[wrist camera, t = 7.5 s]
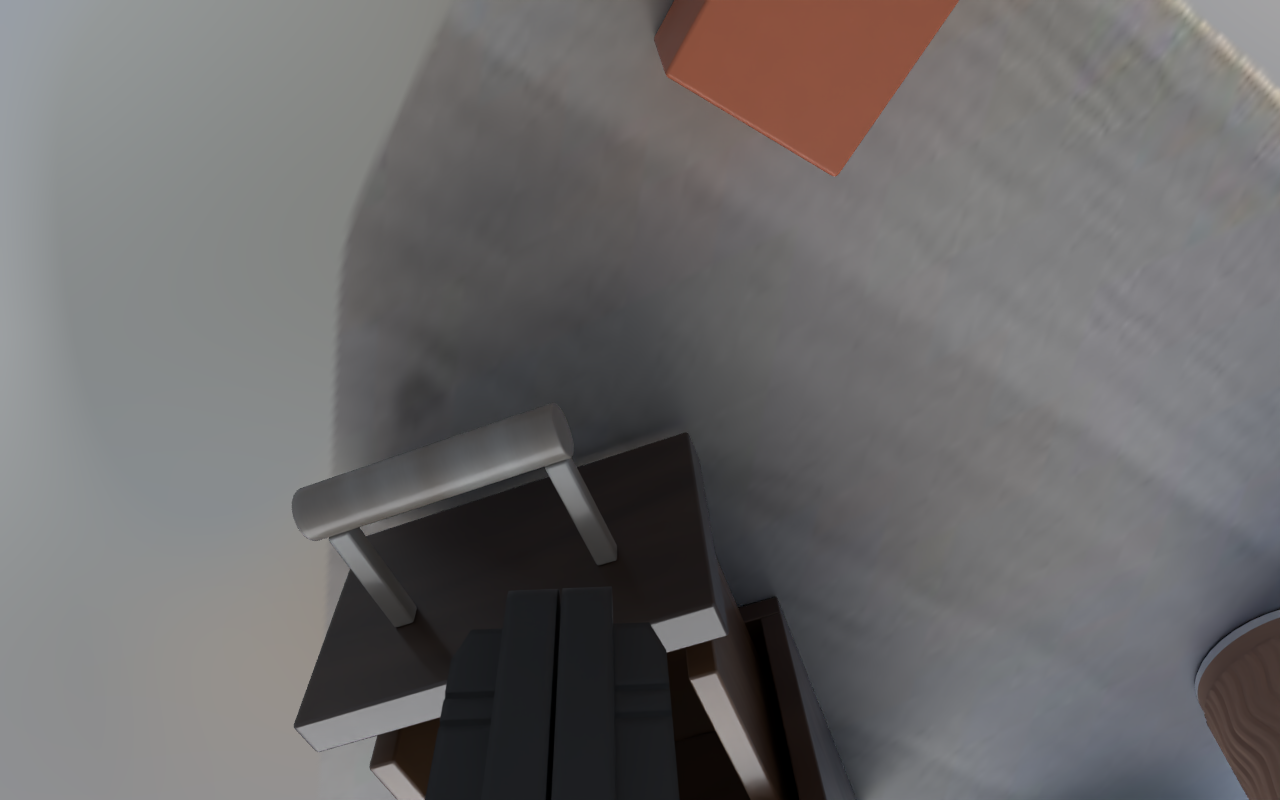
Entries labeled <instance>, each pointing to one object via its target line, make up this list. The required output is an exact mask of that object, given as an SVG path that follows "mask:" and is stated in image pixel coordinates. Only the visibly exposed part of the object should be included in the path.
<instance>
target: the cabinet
mask: <svg viewBox="0 0 1280 800" xmlns="http://www.w3.org/2000/svg"><path fill="white" fill-rule="evenodd" d="M738 609H739V611H740V614H741V616H742V618H743V621H744V623H745V625H746V628H747V630H748V632H749V635H750V637H751V639H752V642H753V644H754V646H755V649H756V651H757V653H758V655H759V658H760V660H761V662H762V665H763V667H764V669H765V672H766V674H767V676H768V679H769V681H770V683H771V686H772V688H773V690H774V693H775V695H776V697H777V700H778V705H779V709H780V714H781V718H782V723H783V728H784V732H785V737H786V742H787V746H788V751H789V755H790V760H791V765H792V769H793V774H794V779H795V783H796V788H797V792H798V797H799V800H856V797H855V795H854V792H853V790H852V787H851V785H850V782H849V780H848V777H847V774H846V772H845V769H844V767H843V764H842V762H841V759H840V757H839V754H838V751H837V749H836V746H835V744H834V741H833V739H832V736H831V734H830V731H829V728H828V726H827V723H826V721H825V718H824V716H823V713H822V711H821V708H820V706H819V703H818V700H817V698H816V695H815V693H814V690H813V688H812V685H811V683H810V680H809V677H808V675H807V672H806V670H805V667H804V665H803V662H802V660H801V657H800V654H799V652H798V649H797V647H796V644H795V642H794V639H793V637H792V634H791V632H790V629H789V626H788V624H787V621H786V619H785V616H784V614H783V611H782V609H781V606H780V603H779V601H778V598H777V597H774V598H771V599H767V600H764V601H760V602H757V603H753V604H750V605H746V606H743V607H739V608H738Z"/></svg>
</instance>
